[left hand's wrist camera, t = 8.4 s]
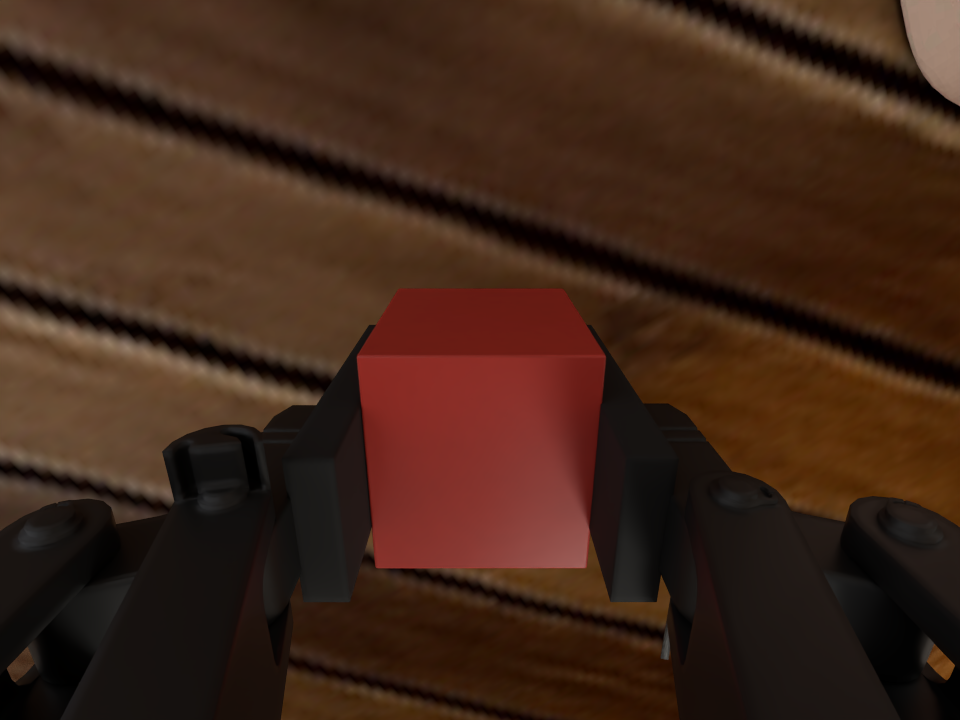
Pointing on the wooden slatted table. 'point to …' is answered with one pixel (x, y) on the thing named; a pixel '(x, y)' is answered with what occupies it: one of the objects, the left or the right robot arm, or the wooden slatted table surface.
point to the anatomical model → (936, 42)
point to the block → (481, 429)
